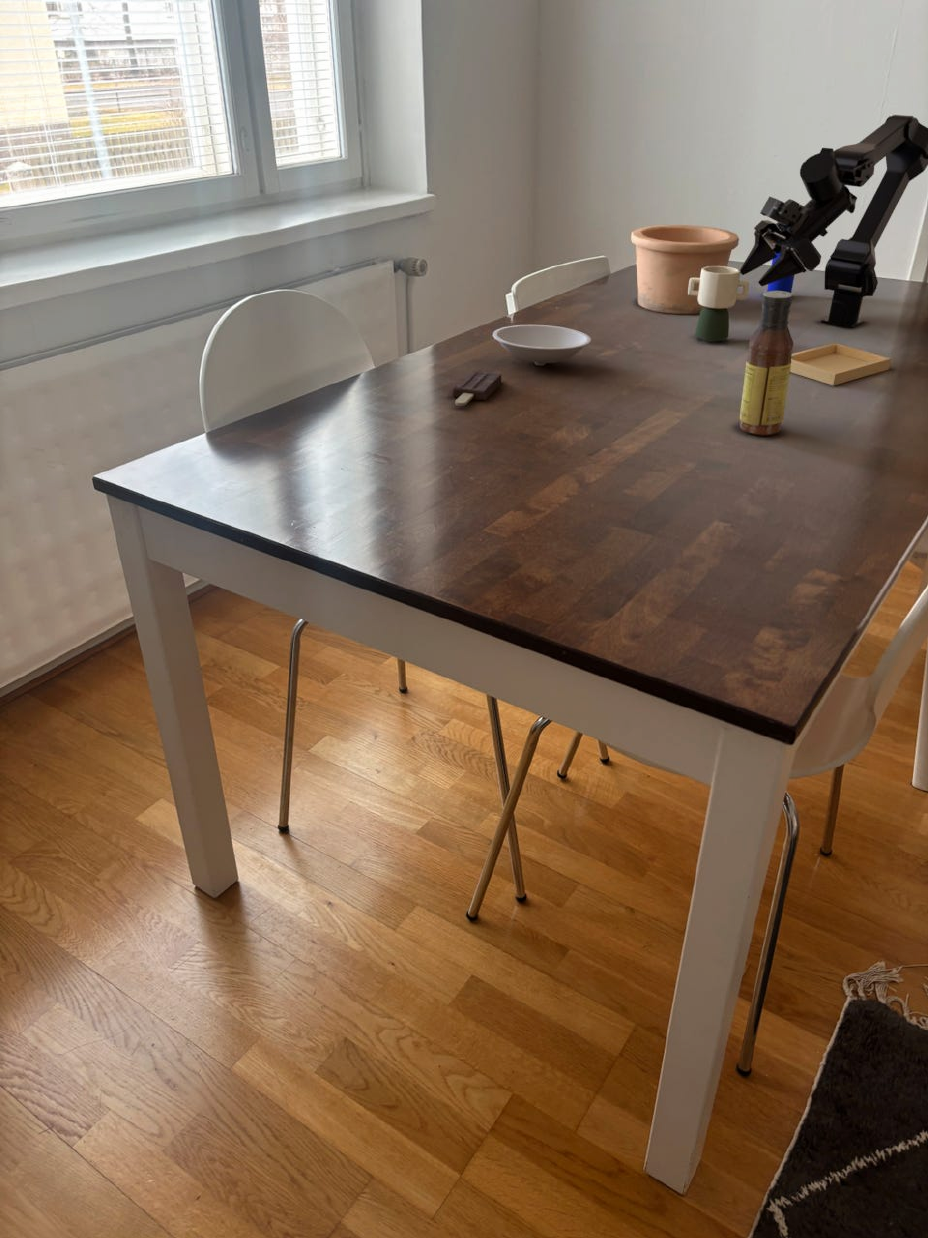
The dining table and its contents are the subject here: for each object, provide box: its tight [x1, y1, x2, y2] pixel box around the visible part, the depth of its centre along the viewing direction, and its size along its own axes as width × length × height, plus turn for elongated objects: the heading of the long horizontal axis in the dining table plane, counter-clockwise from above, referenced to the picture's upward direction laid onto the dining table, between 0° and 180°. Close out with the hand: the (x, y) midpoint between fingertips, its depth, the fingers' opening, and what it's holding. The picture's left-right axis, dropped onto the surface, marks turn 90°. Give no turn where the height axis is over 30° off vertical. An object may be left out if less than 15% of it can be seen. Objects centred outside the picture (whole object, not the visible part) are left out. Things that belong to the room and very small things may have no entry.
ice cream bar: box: [452, 369, 502, 407], centre depth 155 cm, size 5×2×15 cm
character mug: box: [688, 265, 750, 342], centre depth 180 cm, size 11×7×13 cm, turn 72°
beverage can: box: [766, 253, 795, 294], centre depth 208 cm, size 5×5×15 cm
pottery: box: [630, 224, 740, 315], centre depth 202 cm, size 22×22×14 cm
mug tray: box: [790, 342, 892, 387], centre depth 168 cm, size 12×16×2 cm
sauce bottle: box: [739, 291, 794, 436], centre depth 138 cm, size 6×6×20 cm
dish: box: [492, 324, 592, 366], centre depth 168 cm, size 18×14×5 cm
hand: (750, 278), depth 178 cm, fingers open, 9 cm apart
